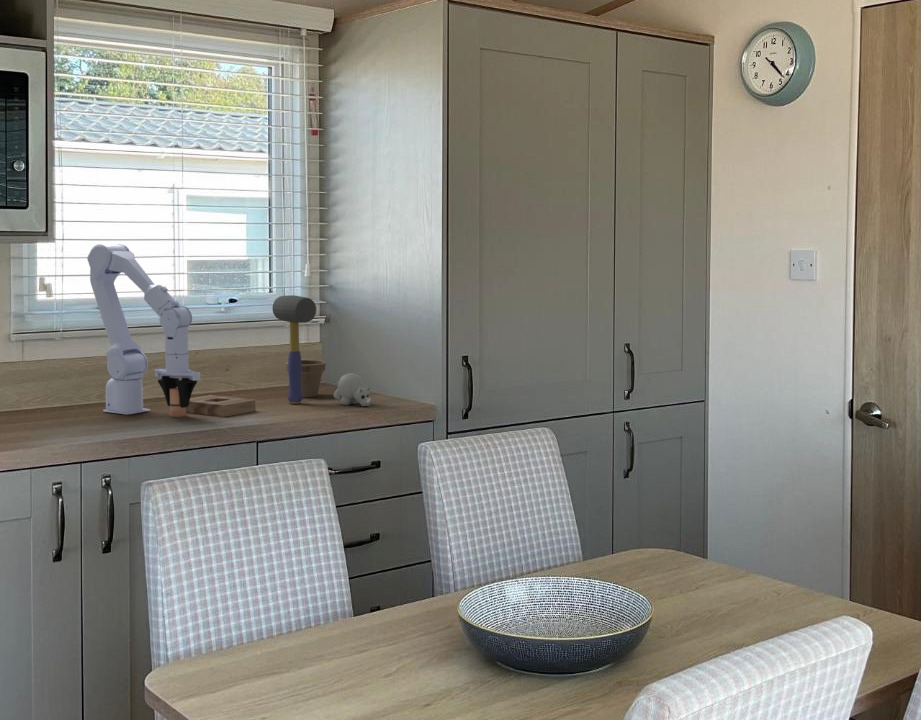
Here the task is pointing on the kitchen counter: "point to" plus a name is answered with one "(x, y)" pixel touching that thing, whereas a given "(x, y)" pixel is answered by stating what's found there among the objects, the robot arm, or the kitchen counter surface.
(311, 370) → the flower pot
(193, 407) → the socket board
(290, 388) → the rubber mallet
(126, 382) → the robot arm
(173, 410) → the peg
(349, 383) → the chubby cartoon animal
